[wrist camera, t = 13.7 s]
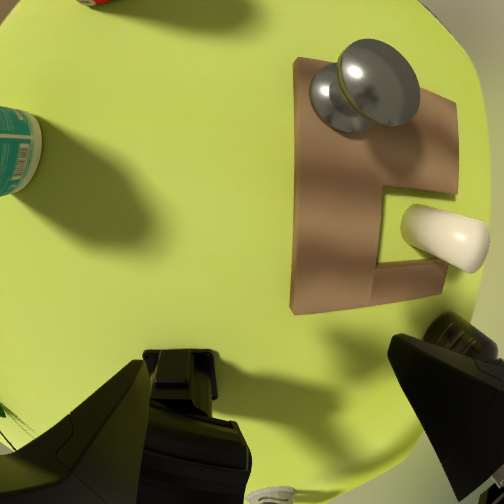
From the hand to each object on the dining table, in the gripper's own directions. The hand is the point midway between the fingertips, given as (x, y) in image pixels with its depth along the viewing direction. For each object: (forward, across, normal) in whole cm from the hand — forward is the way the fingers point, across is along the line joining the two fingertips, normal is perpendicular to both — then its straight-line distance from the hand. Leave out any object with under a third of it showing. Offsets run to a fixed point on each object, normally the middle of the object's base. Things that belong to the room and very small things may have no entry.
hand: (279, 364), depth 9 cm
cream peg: (+13, -16, -2) cm, 21 cm away
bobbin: (+12, -8, -12) cm, 18 cm away
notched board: (+13, -12, -5) cm, 19 cm away
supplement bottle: (+13, -25, +12) cm, 31 cm away
